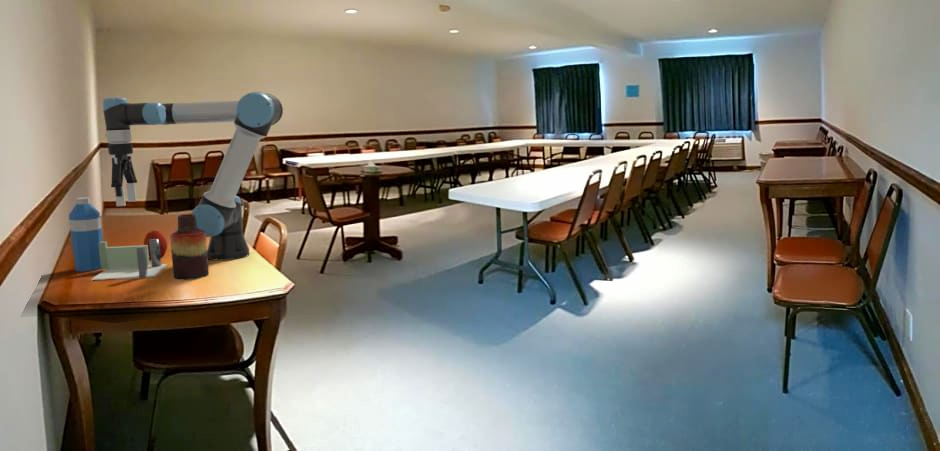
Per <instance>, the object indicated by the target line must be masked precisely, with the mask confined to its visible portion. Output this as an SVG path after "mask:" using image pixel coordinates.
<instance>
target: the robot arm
mask: <svg viewBox="0 0 940 451" xmlns="http://www.w3.org/2000/svg"><path fill="white" fill-rule="evenodd" d="M102 106H103V107H102V109H103V111H102V112H103V116H104V123H105V133H104V136H105V137H106V140H107V141H106V142H107V143H108V145H107V150H108V154H109V155H110V156H114V157H112V158H111V164H112V165H111V182H110V183H111V184H110V187H111V188H114V195H115V196H114V197H115V205H116V207H125V206H127V204H126V196H127V202H129V203H130V202H137V201H138V199H137V191H136V184H137V183H138V180H137V177H136V173H135V169H134V165H133V161H132V157H131V155H132V154H133V153H134V150H133V144H132V143H131V142H132V140H133V138H132V132H131V126H158V125H160V126H161V125H162V126H167V125H168V126H169V125H181V124H182V125H183V124H184V125H185V124H206V123H207V124H209V123H213V124H214V123H233V124H234V127H235V131H234V133H233V136H232V138H231V141H230V142H229V146H228V147H227V150H226V153H225V154H224V157H223V159H222V161H221V164H220V166H219V169H218V170H217V173H216V175H215V178H214V181H213V182H212V185H211V187H210V190H208V191H204V192H203V194H202V196H201V199H200V201H199V203H198V205H196V206H195V208H193V210H192V211H191V212H190V214H194V215H195V217H196V223H197V228H198V229H201V230H204V231H205V234H206V238H209V242H208V246H207V257H208V259H209V260H216V261H217V260H218V261H224V260H226V261H227V260H234V259H241V258H245V256H246V257H248V256H249V255H250V248H249V245H248V243H247V241H246V238H245V236H244V229H243V228H244V225H243V213H242V212H243V211H242V202H241V197H240V196H238V195H237V194H238V191H239V189H240V187H241V185H242V182H243V180H244V177H245V175H246V173H247V170H248V169H249V167H250V165H251V161H252V159H253V157H254V155H255V153H256V150H257V148H258V145H259V143H260V141H261V139H265V138H267V137H268V134H269V132H270V130H271V128H272V126H275V125H276V124H278V122H279V121H281V119H282V117H283V112H284V107H283V104H282V102H281V101H280V99H278V98H277V96H275V95H274V94H271V93H266V92H260V91H252V92H249V93H246V94H245V95H242V96H241V97H240V99H239V100H226V101H225V100H222V101H197V102H175V103H171V102H170V103H167V102H166V103H161V102H153V101H150V102H137V103H135V102H134V103H131V102H130V103H129V102H128V99H127V98H126V97H107V98H104V99H103V100H102ZM124 179H125V181H126V183H125V186H126V195H125V189H124V186H123V183H124ZM247 255H248V256H247Z"/></svg>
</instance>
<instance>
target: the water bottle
mask: <svg viewBox="0 0 940 451" xmlns="http://www.w3.org/2000/svg"><path fill="white" fill-rule="evenodd" d="M90 198H91V197H89V196H88V197H76V198H75V203H76V204H75V205H74V206H73V209H71V212H70V213H69V214H68V220H69V228H70V237H71V244H72V245H71V246H72V254H73V256H72V257H73V262H74V271H76V272H92V271H97V270H103V269H104V268H101V263H100V253H99V244H98V243H99V242H104V239H103V238H104V237H103V231H102V221H101V212H100V211H99V210H98V209H97V208H96V207H95V206H94V205H93V204H92V203H91V200H90Z"/></svg>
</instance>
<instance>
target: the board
mask: <svg viewBox="0 0 940 451" xmlns="http://www.w3.org/2000/svg"><path fill="white" fill-rule="evenodd" d="M168 265H169V264H168V263H161V266H158V267H152V264H150V265H148V266H147V275H146V276H143V277H146V278H147V279H149V278H155V277H156V276H157V275H159V274H160V272H162V271H163V270H164V269H165V268H166V267H168ZM140 277H141V276H140ZM146 278H145V279H146ZM105 279H115V280H129V279H140V278H139V269H138V266H136V267H117V268H105V270H102V271H101V272H100V273H98V274H97V275H95V276H93V277H92V278H91V279H90V280H91V282H93V280H98V281H106V280H105Z"/></svg>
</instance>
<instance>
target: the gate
mask: <svg viewBox="0 0 940 451" xmlns="http://www.w3.org/2000/svg"><path fill="white" fill-rule="evenodd" d="M98 244H99V253H100V263H101V268H103V269H107V268H117V267H136V266H138V259H137V249H136V248H138V247H145V254H146V264H147V266H148V265H151V264H150V256H149V253H148V245H144V244H142V245H125V246H108V241H104V240H103V242H99V243H98Z"/></svg>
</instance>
